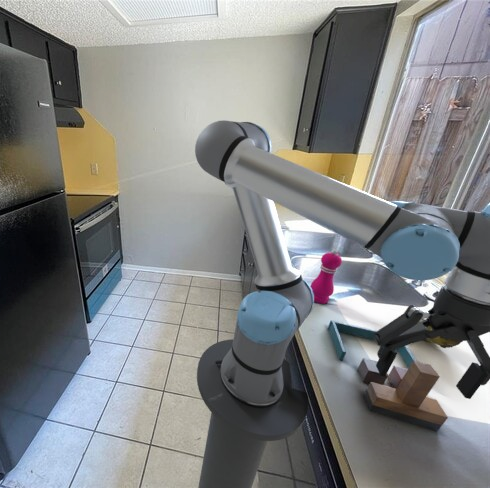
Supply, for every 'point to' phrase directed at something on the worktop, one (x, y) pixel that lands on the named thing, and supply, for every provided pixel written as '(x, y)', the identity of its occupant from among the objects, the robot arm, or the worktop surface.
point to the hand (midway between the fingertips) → (419, 381)
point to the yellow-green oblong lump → (442, 340)
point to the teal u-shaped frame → (361, 332)
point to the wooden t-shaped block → (409, 398)
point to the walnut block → (370, 372)
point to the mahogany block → (396, 376)
